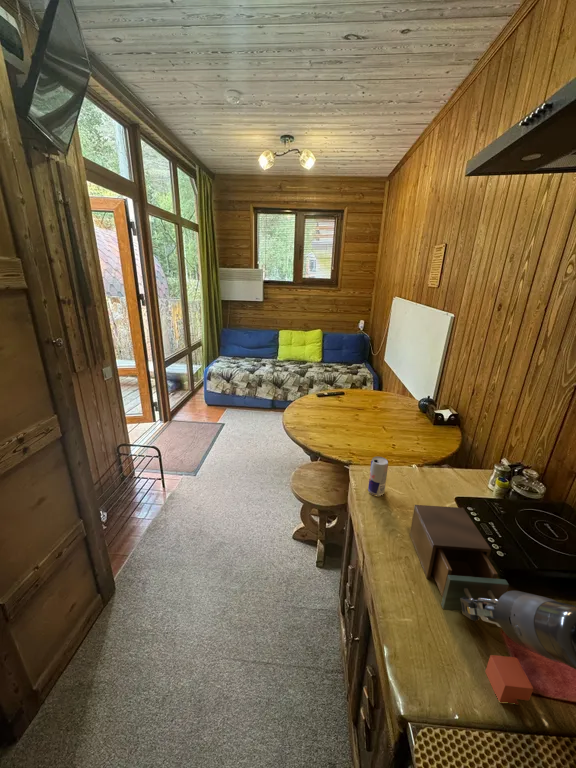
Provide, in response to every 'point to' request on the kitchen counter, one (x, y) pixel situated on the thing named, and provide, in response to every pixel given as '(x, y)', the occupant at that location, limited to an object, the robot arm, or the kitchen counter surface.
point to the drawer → (465, 577)
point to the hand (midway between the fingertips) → (481, 604)
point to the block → (508, 679)
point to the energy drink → (378, 476)
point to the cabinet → (443, 533)
